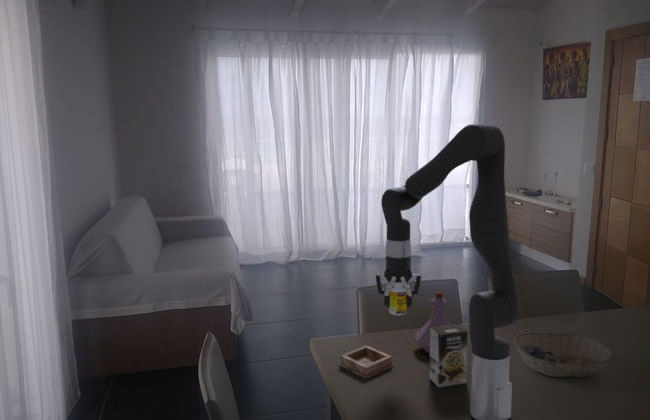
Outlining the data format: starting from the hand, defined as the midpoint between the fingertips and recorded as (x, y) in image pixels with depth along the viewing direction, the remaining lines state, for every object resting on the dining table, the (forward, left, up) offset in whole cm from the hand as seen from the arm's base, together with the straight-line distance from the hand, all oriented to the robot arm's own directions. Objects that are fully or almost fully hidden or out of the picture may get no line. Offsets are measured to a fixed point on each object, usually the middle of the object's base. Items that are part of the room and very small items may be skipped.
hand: (397, 306), depth 156 cm
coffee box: (-16, -5, -20) cm, 26 cm away
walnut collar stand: (+7, +6, -20) cm, 22 cm away
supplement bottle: (0, 0, -2) cm, 2 cm away
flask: (-1, -20, -20) cm, 28 cm away
